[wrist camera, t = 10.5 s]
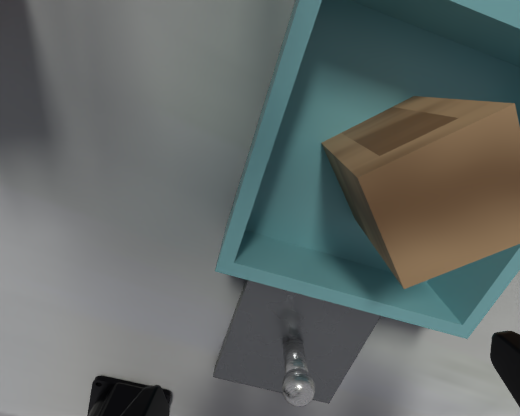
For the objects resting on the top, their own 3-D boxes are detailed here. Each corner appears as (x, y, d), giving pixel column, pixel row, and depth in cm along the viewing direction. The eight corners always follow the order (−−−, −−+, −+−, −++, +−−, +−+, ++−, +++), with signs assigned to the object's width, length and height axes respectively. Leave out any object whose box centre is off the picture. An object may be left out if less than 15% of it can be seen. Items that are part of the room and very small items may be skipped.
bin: (423, 285, 22) (467, 338, 17) (225, 228, 20) (215, 271, 16) (559, 70, 17) (674, 65, 12) (305, -31, 15) (325, -82, 10)
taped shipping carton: (440, 181, 18) (540, 235, 12) (355, 219, 19) (403, 289, 13) (413, 95, 16) (515, 103, 10) (321, 142, 17) (357, 177, 11)
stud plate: (326, 392, 26) (341, 464, 21) (214, 366, 25) (203, 436, 20) (377, 303, 23) (410, 365, 18) (250, 268, 22) (246, 324, 17)
